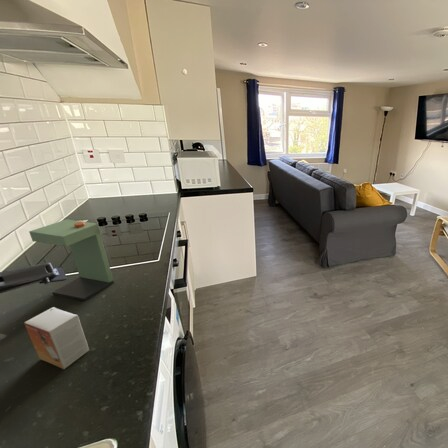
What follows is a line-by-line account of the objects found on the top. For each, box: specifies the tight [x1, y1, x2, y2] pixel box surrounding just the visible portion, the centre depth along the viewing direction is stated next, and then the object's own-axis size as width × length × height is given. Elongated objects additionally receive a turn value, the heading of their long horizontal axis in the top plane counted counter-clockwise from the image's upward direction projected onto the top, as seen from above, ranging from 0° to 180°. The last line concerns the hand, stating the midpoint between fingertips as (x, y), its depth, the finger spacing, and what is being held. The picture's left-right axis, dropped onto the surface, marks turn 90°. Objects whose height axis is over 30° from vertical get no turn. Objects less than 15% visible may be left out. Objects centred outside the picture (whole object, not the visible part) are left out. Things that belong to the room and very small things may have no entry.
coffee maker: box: [28, 219, 115, 302], centre depth 79 cm, size 12×10×22 cm
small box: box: [23, 306, 90, 370], centre depth 58 cm, size 8×6×10 cm
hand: (28, 289), depth 55 cm, fingers open, 13 cm apart
